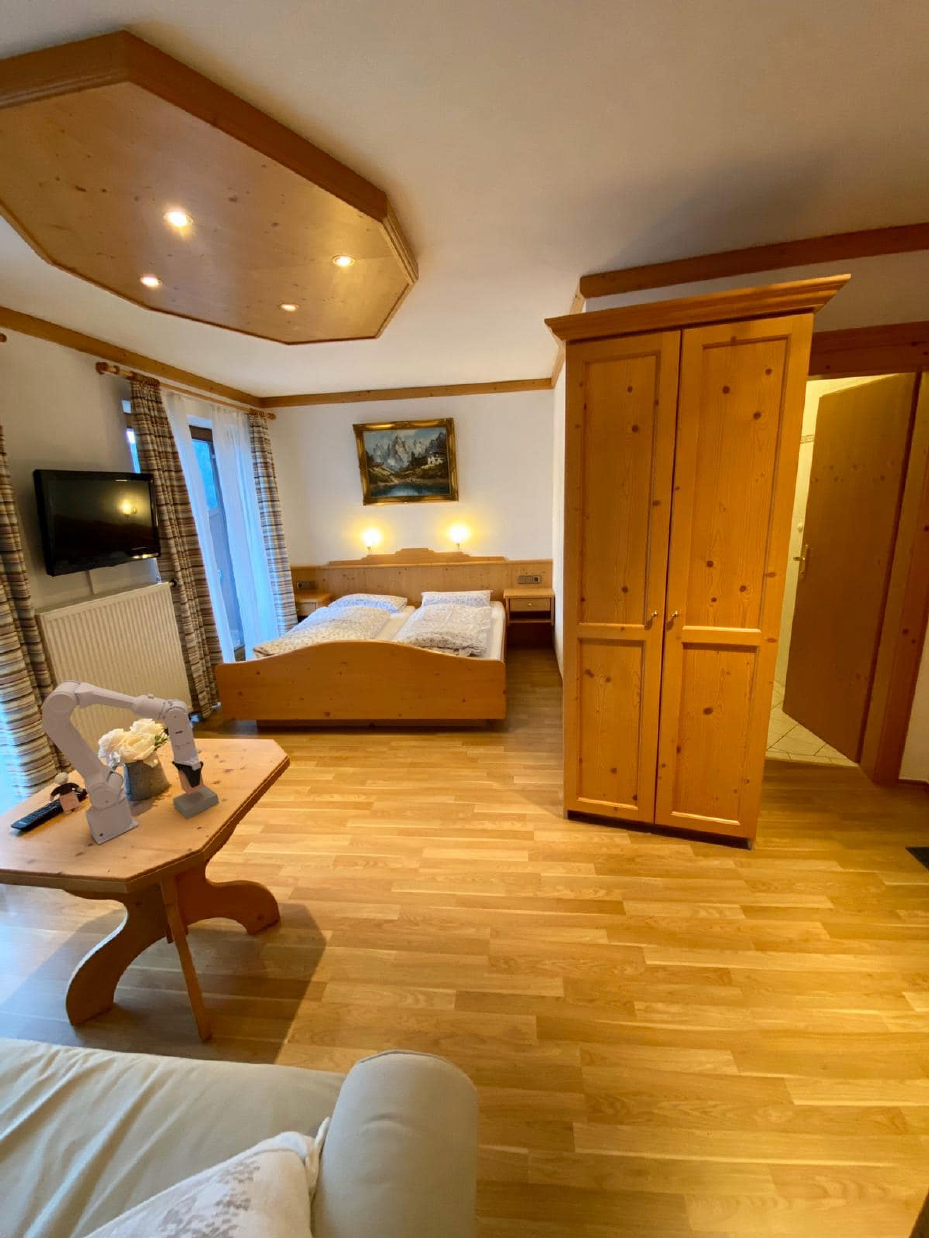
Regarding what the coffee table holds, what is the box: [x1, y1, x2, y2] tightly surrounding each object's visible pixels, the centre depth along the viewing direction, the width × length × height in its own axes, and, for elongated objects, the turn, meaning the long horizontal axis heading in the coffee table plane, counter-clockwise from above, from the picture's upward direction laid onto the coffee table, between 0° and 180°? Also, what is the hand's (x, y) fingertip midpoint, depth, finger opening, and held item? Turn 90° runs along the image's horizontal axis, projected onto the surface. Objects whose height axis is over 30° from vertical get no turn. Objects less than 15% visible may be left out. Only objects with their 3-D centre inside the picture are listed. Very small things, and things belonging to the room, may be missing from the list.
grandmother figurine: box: [49, 771, 84, 815], centre depth 141 cm, size 8×4×13 cm, turn 141°
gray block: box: [172, 784, 220, 820], centre depth 142 cm, size 9×9×3 cm
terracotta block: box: [177, 770, 205, 794], centre depth 140 cm, size 4×4×6 cm
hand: (192, 783), depth 140 cm, fingers closed on terracotta block, 4 cm apart
